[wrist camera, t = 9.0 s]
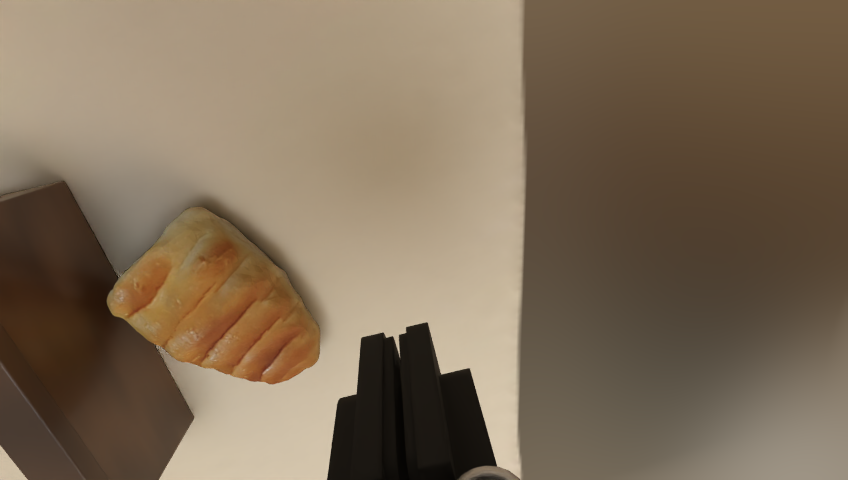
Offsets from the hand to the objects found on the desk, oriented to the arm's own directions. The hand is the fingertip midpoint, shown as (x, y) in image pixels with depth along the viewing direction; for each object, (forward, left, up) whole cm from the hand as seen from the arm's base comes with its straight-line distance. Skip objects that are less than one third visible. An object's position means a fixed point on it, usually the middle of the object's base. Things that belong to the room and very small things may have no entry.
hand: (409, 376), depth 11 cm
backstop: (+1, -16, -11) cm, 19 cm away
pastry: (+1, -9, -11) cm, 14 cm away
